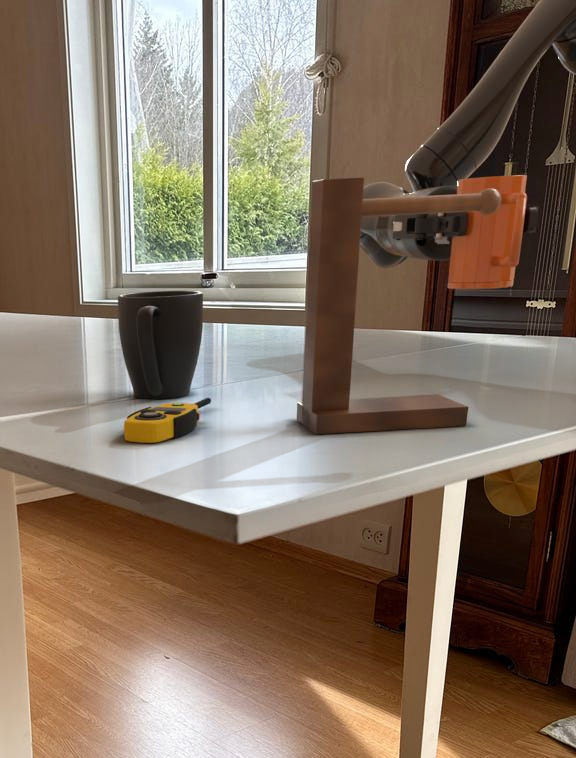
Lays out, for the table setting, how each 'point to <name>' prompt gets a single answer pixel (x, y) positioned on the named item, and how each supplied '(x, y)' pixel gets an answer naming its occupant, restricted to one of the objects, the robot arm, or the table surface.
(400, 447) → the table surface
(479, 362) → the table surface
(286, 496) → the table surface
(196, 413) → the yellow walkie talkie
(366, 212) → the stand
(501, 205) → the cup
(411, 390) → the table surface
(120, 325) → the mug
